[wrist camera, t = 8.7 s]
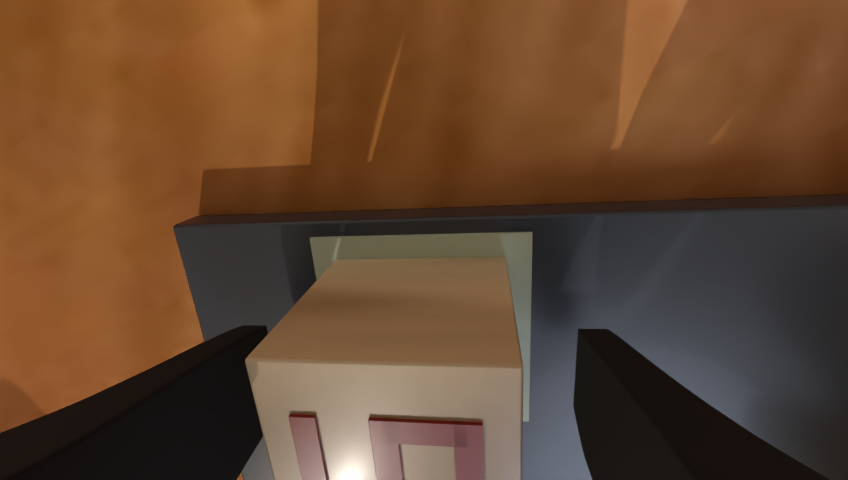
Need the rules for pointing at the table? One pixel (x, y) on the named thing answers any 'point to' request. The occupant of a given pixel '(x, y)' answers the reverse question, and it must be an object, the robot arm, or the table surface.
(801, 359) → the letter board
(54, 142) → the table surface
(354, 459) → the block
